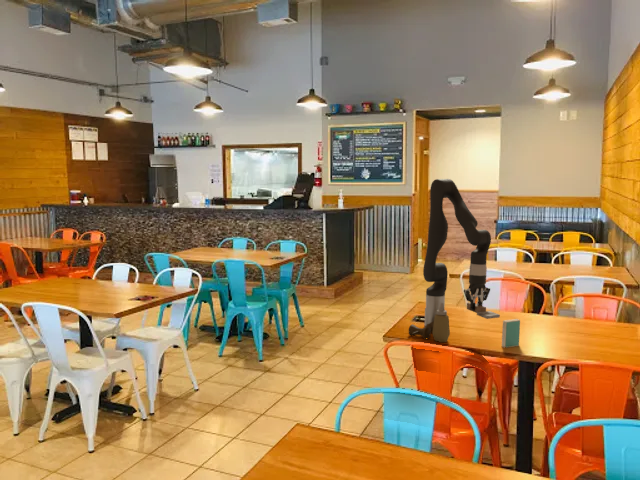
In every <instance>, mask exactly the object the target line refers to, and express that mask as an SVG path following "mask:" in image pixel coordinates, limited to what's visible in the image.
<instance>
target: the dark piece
mask: <svg viewBox="0 0 640 480" xmlns="http://www.w3.org/2000/svg"><path fill="white" fill-rule="evenodd" d="M466 310H468V311H470V312H473V313H475V314H476V316H479V317H481V318H484V319H486V320H489V319H490V320H491V319H498V318H501V317H500V316H501V315H500V314H499V313H496V312H494V311H491V310H487V307H486V306H483V305H482V306H481V305H478V304H477V303H476V302H475V311H473V310H471V309H470V302H467V303H466Z"/></svg>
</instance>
